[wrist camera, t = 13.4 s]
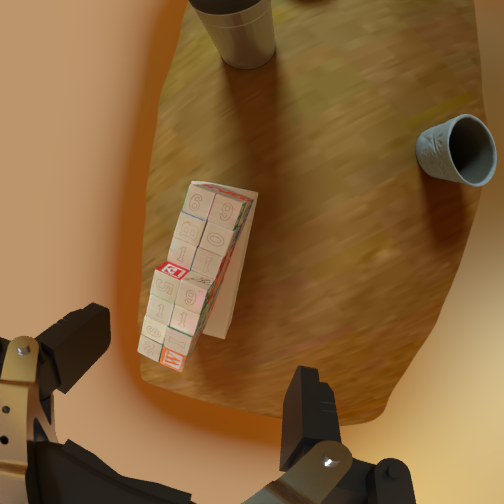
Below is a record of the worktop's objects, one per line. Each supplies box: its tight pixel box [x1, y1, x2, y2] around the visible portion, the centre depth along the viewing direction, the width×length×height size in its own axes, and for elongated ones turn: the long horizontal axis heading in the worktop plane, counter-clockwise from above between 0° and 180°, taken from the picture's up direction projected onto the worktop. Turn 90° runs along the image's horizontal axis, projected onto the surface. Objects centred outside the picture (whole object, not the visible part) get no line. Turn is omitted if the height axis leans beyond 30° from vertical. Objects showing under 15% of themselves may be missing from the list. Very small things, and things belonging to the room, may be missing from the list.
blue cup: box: [416, 114, 497, 187], centre depth 31 cm, size 10×10×12 cm
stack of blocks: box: [138, 184, 254, 372], centre depth 34 cm, size 21×6×12 cm, turn 159°
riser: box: [191, 181, 259, 339], centre depth 43 cm, size 23×9×6 cm, turn 168°
